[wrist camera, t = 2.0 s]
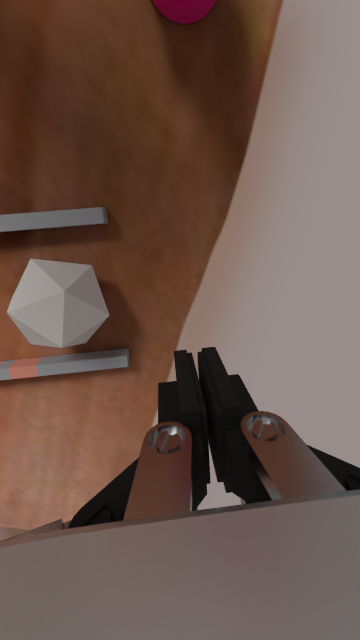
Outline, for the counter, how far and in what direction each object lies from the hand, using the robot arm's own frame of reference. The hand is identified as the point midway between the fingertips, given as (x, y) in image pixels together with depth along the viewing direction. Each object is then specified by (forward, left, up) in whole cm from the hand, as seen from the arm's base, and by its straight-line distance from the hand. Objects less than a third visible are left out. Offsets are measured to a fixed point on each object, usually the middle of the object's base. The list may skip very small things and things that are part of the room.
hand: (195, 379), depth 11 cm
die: (0, -11, -19) cm, 22 cm away
